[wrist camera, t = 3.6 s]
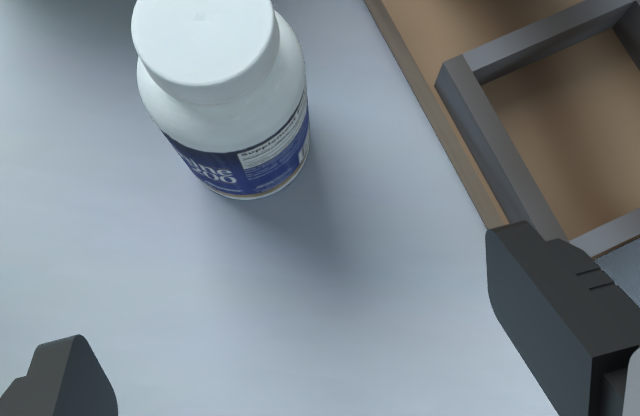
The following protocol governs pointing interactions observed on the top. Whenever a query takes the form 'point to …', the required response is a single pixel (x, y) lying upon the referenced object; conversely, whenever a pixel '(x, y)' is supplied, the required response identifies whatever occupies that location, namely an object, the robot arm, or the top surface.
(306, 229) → the top surface
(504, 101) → the bottle rack
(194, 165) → the pill bottle
